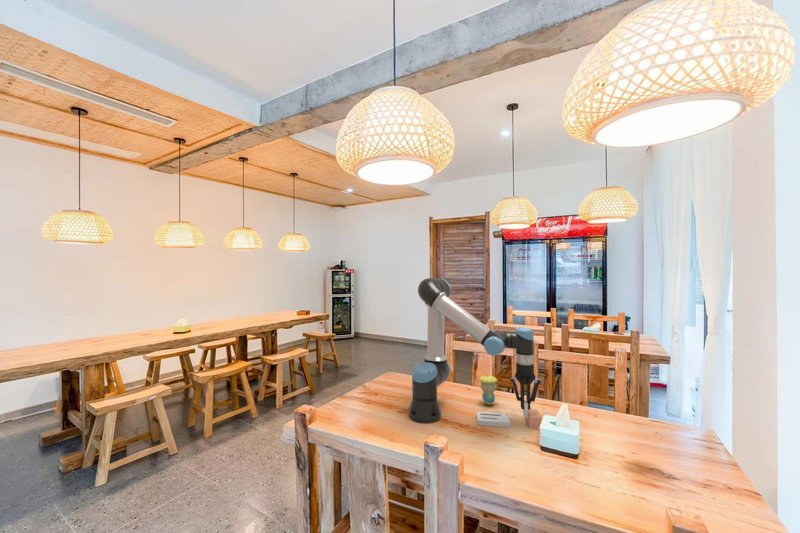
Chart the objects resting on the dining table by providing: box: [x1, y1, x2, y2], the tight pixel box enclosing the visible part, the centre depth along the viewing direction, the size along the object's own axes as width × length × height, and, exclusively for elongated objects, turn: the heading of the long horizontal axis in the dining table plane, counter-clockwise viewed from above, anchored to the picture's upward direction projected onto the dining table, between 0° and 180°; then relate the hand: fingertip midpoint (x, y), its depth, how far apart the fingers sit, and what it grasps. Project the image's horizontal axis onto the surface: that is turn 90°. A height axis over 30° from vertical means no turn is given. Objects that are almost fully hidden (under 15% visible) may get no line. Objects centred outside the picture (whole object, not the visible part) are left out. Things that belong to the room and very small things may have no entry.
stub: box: [524, 408, 543, 430], centre depth 141 cm, size 5×9×5 cm, turn 170°
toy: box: [478, 374, 498, 406], centre depth 162 cm, size 8×9×15 cm
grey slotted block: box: [476, 411, 512, 428], centre depth 143 cm, size 14×9×2 cm, turn 80°
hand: (525, 416), depth 141 cm, fingers closed
